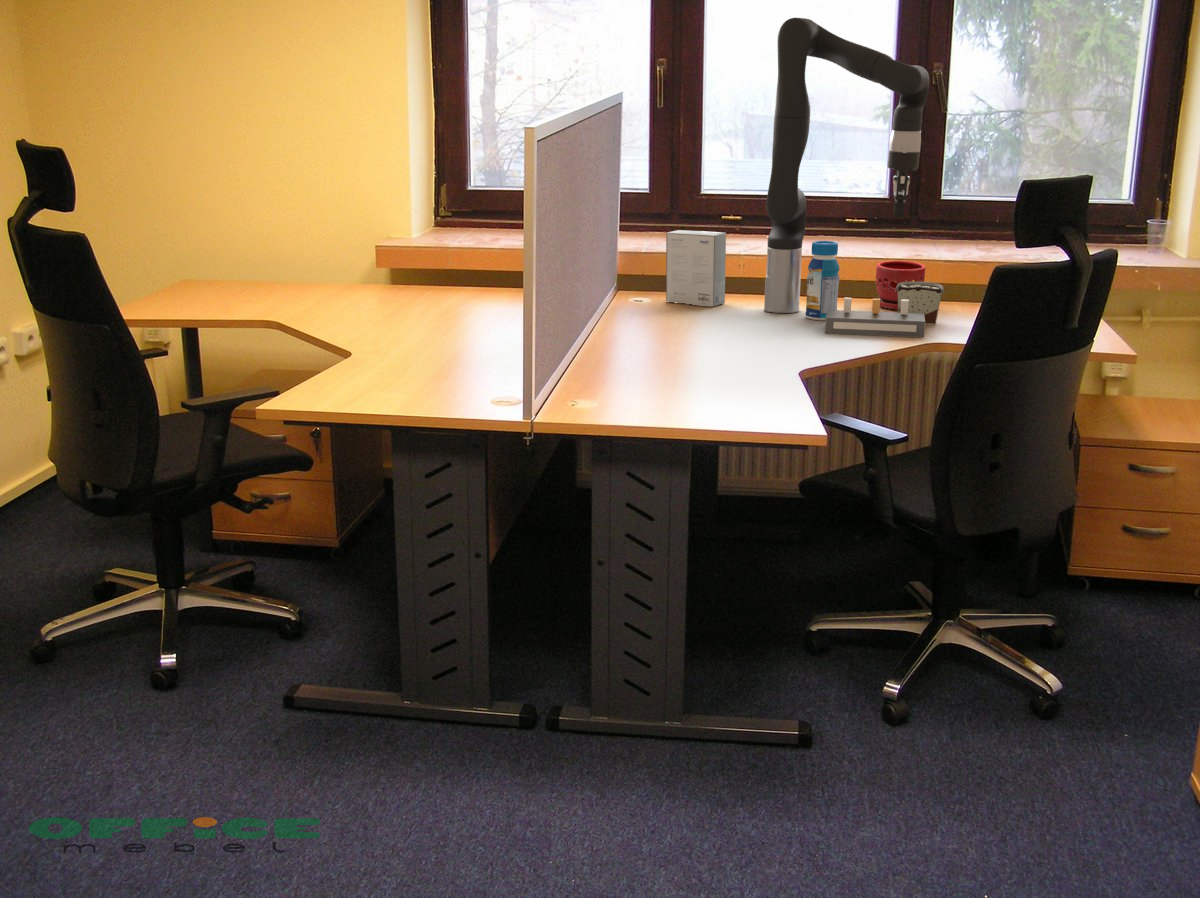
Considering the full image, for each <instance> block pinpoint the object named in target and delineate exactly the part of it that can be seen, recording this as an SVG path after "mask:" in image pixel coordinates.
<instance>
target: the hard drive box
mask: <svg viewBox="0 0 1200 898" xmlns="http://www.w3.org/2000/svg"><path fill="white" fill-rule="evenodd" d="M665 235H666V236H665V237H666V239H665V241H666V243H665V244H666V245H665V246H666V249H665V250H666V253H665V256H666V258H665V259H666V260H665V261H666V262H665V269H666V270H665V272H666V273H665V274H666V275H665V278H666V279H665V282H666V285H665V287H666V288H665V291H666V293H665V299H666V300H665V301H668V302H667V303H669V302H677V303H686V304H685V305H689V304H692V305H691V306H699V307H710V308H713V307H716V306H719V305H723V304H725V303H726V261H727V260H726V258H727V257H726V253H727V251H726V250H727V249H726V248H727V247H726V246H727V232H724V231H723V232H722V231H720V232H719V231H718V232H717V231H707V230H706V231H703V230H687V229H686V230H685V229H684V230H681V229H678V230H673V231H668V232H666V234H665ZM677 303H676V304H677Z"/></svg>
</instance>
